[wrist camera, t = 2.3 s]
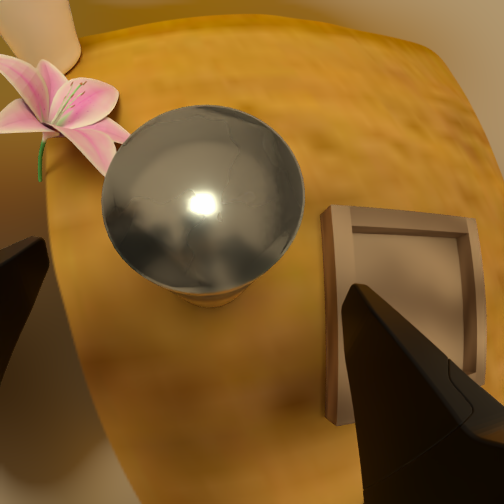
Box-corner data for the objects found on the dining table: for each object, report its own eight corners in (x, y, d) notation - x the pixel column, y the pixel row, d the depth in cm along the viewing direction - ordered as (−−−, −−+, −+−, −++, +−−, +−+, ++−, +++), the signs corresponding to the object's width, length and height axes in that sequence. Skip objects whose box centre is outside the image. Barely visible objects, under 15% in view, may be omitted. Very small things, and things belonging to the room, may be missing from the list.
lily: (135, 252, 18) (177, 123, 11) (-34, 245, 12) (-76, 115, 5) (135, 134, 24) (169, 34, 17) (11, 126, 18) (17, 21, 11)
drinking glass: (43, 48, 20) (-1, -59, 5) (100, 36, 20) (68, -91, 6) (16, 97, 18) (-54, -16, 4) (75, 86, 19) (16, -60, 4)
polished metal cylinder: (251, 308, 17) (310, 292, 6) (167, 308, 17) (91, 289, 6) (249, 227, 18) (296, 110, 7) (169, 226, 18) (119, 108, 7)
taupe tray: (464, 381, 18) (484, 384, 16) (322, 415, 17) (336, 426, 14) (457, 226, 21) (475, 218, 19) (318, 217, 19) (330, 204, 17)
